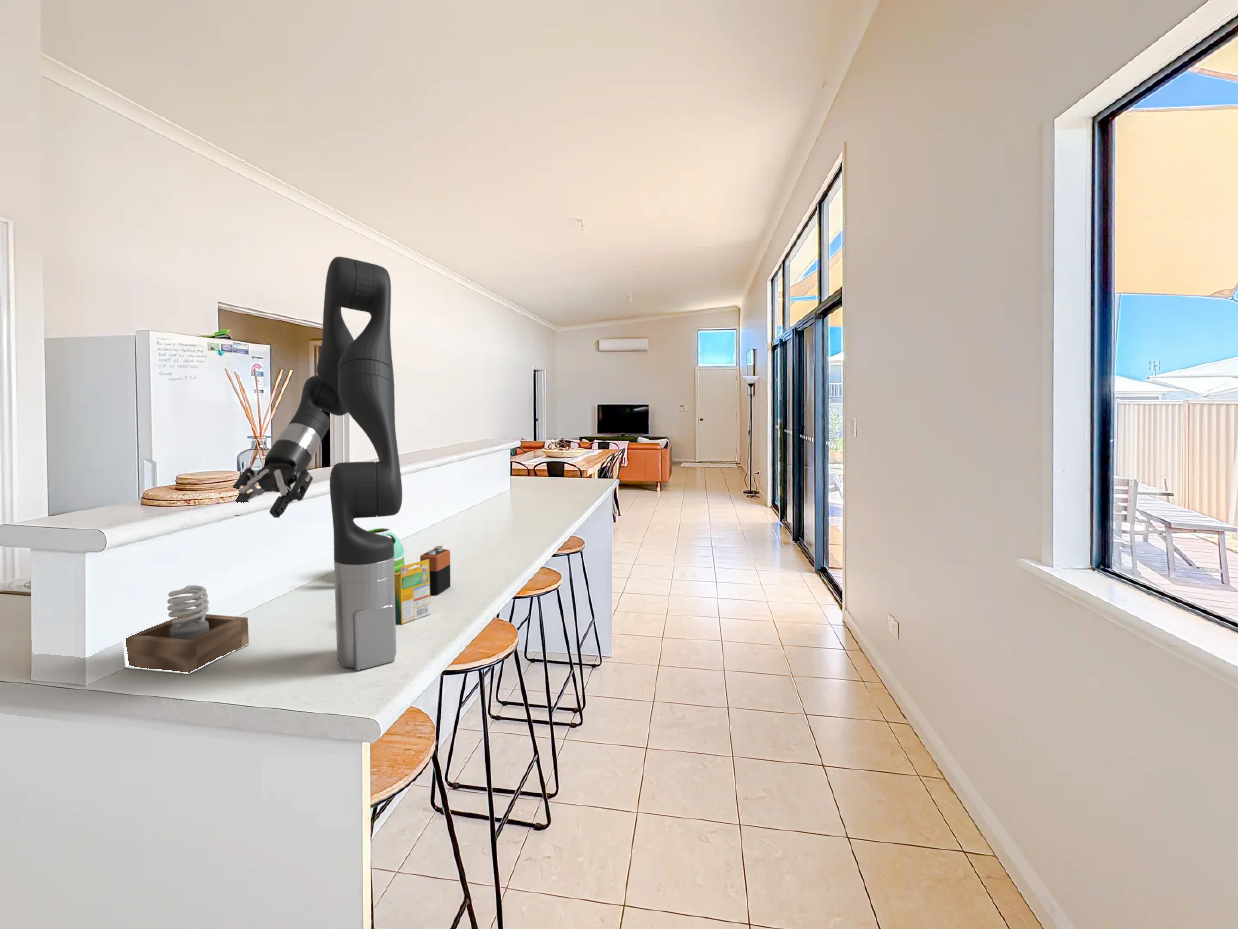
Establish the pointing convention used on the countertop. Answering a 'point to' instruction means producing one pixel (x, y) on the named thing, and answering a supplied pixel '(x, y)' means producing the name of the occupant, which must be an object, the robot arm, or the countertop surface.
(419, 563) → the crayon box
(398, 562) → the turtle holder
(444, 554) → the battery
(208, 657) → the square brown bulb holder
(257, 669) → the countertop surface
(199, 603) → the light bulb
